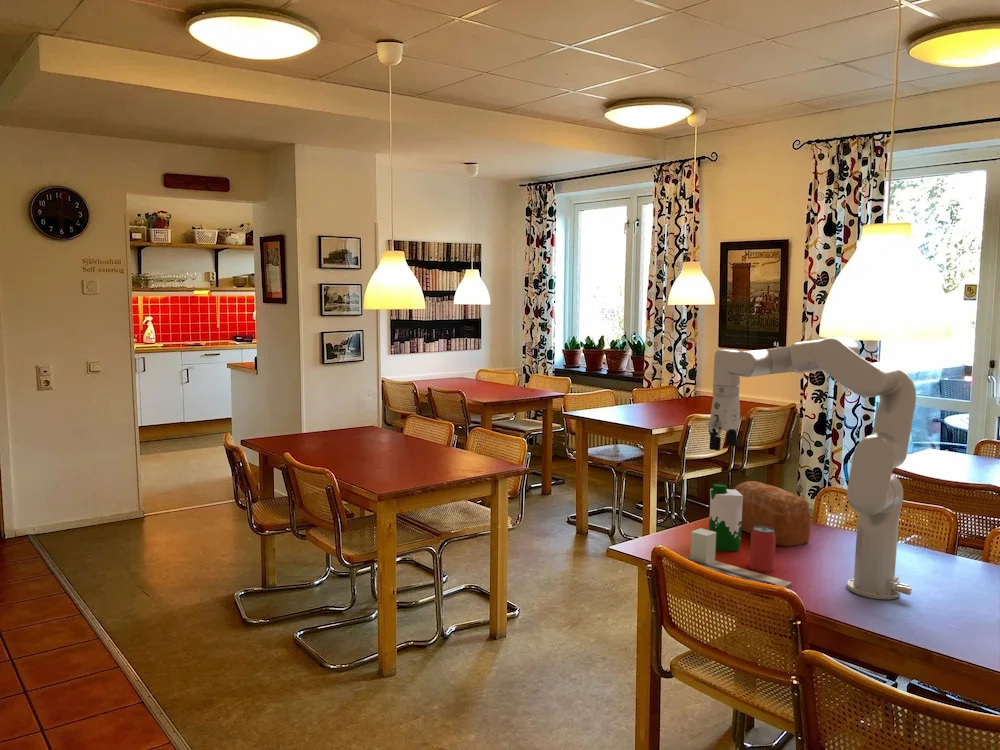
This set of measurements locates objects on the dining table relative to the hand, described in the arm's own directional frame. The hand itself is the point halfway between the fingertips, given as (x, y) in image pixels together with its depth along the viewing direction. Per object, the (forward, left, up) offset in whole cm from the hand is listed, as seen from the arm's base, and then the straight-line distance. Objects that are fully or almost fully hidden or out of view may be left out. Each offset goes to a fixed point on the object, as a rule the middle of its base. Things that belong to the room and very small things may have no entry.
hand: (723, 447), depth 229 cm
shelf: (-15, +18, -31) cm, 39 cm away
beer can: (-18, +8, -31) cm, 37 cm away
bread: (-3, -26, -32) cm, 41 cm away
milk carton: (-2, 0, -31) cm, 31 cm away
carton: (-5, +17, -30) cm, 35 cm away
